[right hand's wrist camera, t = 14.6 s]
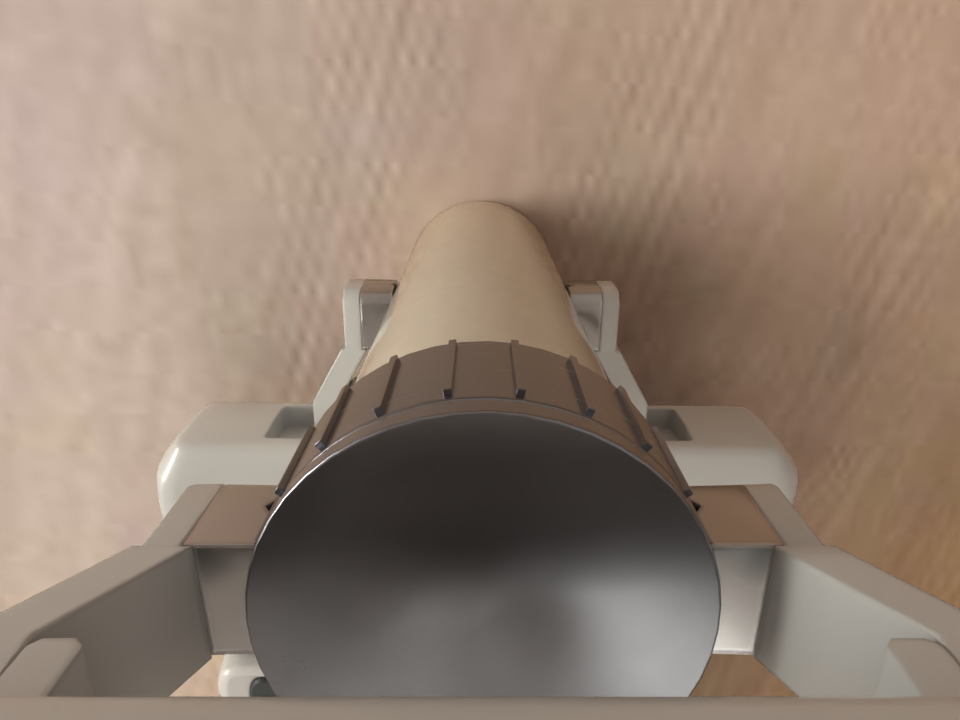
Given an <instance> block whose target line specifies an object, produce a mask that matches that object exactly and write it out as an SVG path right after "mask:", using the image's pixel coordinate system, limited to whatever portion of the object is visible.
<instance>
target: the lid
mask: <svg viewBox="0 0 960 720" xmlns="http://www.w3.org/2000/svg"><path fill="white" fill-rule="evenodd" d="M274 494H276V495H277V497H276V499H275V501H274V503H273V505H272V507H271V509H270V511H269V513H268V515H267V517H266V519H265V521H264V523H263V525H262V527H261V528H260V530H259V532H258V534H257V536H256V538H255V540H254V544H255V548H254V551H253V554H252V558H251V561H250V564H249V568H248V574H247V582H246V590H245V605H246V622H247V626H248V631H249V636H250V641H251V645H252V648H253V651H254V653H255V656H256V659H257V661H258V664H259V667H260V669H261V671H262V673H263V674H264V676H265V678H266V680H267V682H268V683H269V685H270V687H271V689H272V690H273V692H274V693H275V694H276V696H277V697H689V696H690V695H691V693H692V692H693V690H694V689H695V687H696V685H697V684H698V682H699V681H700V679H701V678H702V676H703V673H704V671H705V669H706V667H707V665H708V662H709V660H710V658H711V656H712V653H713V649H714V646H715V642H716V638H717V635H718V631H719V623H720V614H721V605H722V603H721V584H720V576H719V571H718V567H717V562H716V558H715V554H714V551H713V549H712V546H711V544H713V542H712V540H711V538H710V536H709V534H708V532H707V531H706V529H705V527H704V525H703V523H702V521H701V519H700V517H699V515H698V513H697V511H696V510H695V508H694V506H693V504H692V502H691V500H690V498H689V497H690V496H692V495H693V492H692V490H691V488H690V486H689V485H688V483H687V481H686V479H685V477H684V475H683V473H682V472H681V470H680V468H679V466H678V464H677V462H676V460H675V459H674V457H673V455H672V453H671V451H670V449H669V447H668V446H667V444H666V442H665V440H664V438H663V436H662V434H661V433H660V431H659V429H658V427H657V426H655V427H653V428H651V427H650V425H649V424H648V422H647V420H646V419H645V418H644V416H643V415H642V414H641V413H640V412H639V410H638V409H637V408H636V407H635V405H634V404H633V403H632V402H631V400H630V398H629V396H628V394H627V392H626V390H625V389H624V388H623V387H622V386H621V385H620V386H619V387H618V388H616V387H615V386H614V385H613V384H611V383H610V382H608V381H607V380H605V379H604V378H603V377H601V376H600V375H598V374H597V373H595V372H594V371H592V370H591V369H589V368H587V367H585V366H583V365H581V364H579V363H578V360H577V358H576V357H574V356H572V355H570V356H569V358H566V357H564V356H561V355H558V354H555V353H552V352H549V351H547V350H544V349H540V348H535V347H530V346H526V345H521V344H519V341H518V340H512V339H511V342H510V343H506V342H494V341H475V342H458V343H457V340H456V339H454V340H449V343H448V344H446V345H439V346H434V347H430V348H427V349H423V350H420V351H417V352H413V353H410V354H407V355H405V356H402V357H400V358H399V357H398V356H397V355H394V356H392V357H390V360H389V363H386V364H384V365H382V366H381V367H379V368H377V369H376V370H374V371H372V372H371V373H369V374H367V375H366V376H364V377H363V378H361V379H360V380H359V381H357V382H356V383H355V384H354V385H352V386H351V387H349V386H348V385H347V384H346V385H345V386H344V387H342V388H341V391H340V393H339V395H338V397H337V399H336V401H335V402H334V403H333V404H332V405H331V406H330V407H329V408H328V410H327V411H326V412H325V413H324V415H323V416H322V417H321V419H320V420H319V422H318V423H317V425H316V426H315V427H313V426H312V425H309V427H308V428H307V430H306V432H305V434H304V436H303V438H302V440H301V442H300V443H299V445H298V447H297V449H296V451H295V453H294V455H293V457H292V459H291V461H290V463H289V464H288V466H287V468H286V470H285V472H284V474H283V476H282V478H281V480H280V482H279V484H278V485H277V487H276V489H275V491H274Z"/></svg>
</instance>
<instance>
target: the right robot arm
mask: <svg viewBox="0 0 960 720" xmlns="http://www.w3.org/2000/svg"><path fill="white" fill-rule="evenodd" d="M276 487H277V485H237V484H227V485H225V484H195V485H191V486H188V487H187V488H186V490H185V491H184V492H183V493H182V495H181V496H180V497H179V499H178V500H177V501H176V503H175V504H174V505H173V507H172V508H171V509H170V511H169V512H168V513H167V514H166V516H165V517H164V518H163V520H162V521H161V522H160V524H159V525H158V526H157V528H156V529H155V530H154V532H153V533H152V534H151V535H150V537H149V538H148V539H147V541H146V542H145V543H144V545H143V546H131V547H129V548H127V549H125V550H123V551H121V552H119V553H117V554H115V555H113V556H111V557H109V558H108V559H106V560H104V561H102V562H100V563H98V564H96V565H94V566H92V567H90V568H88V569H86V570H84V571H82V572H80V573H78V574H76V575H74V576H72V577H70V578H68V579H66V580H64V581H62V582H60V583H58V584H56V585H54V586H52V587H50V588H48V589H46V590H44V591H42V592H40V593H38V594H36V595H35V596H33V597H31V598H29V599H27V600H25V601H23V602H21V603H19V604H17V605H15V606H13V607H11V608H9V609H7V610H5V611H3V612H1V613H0V720H960V609H959V608H957V607H955V606H953V605H951V604H949V603H947V602H945V601H943V600H941V599H939V598H937V597H935V596H933V595H931V594H929V593H927V592H925V591H923V590H921V589H919V588H917V587H915V586H913V585H911V584H909V583H907V582H905V581H903V580H901V579H899V578H897V577H895V576H893V575H891V574H889V573H887V572H885V571H883V570H881V569H879V568H877V567H875V566H873V565H871V564H870V563H868V562H866V561H864V560H862V559H860V558H858V557H856V556H854V555H852V554H850V553H848V552H846V551H844V550H842V549H840V548H838V547H836V546H824V545H823V544H822V542H821V541H820V540H819V538H818V537H817V536H816V535H815V533H814V532H813V531H812V530H811V528H810V527H809V526H808V524H807V523H806V522H805V521H804V519H803V518H802V517H801V515H800V514H799V513H798V512H797V510H796V509H795V508H794V506H793V505H792V504H791V503H790V501H789V500H788V499H787V498H786V496H785V495H784V494H783V492H782V491H781V490H780V489H779V487H778V486H776V485H773V484H748V485H712V486H690V488H691V490H692V492H693V495H692V496H690V497H689V498H690V500H691V502H692V504H693V506H694V508H695V510H696V511H697V513H698V515H699V517H700V519H701V521H702V523H703V525H704V527H705V529H706V531H707V532H708V534H709V536H710V538H711V540H712V542H713V544H711V546H712V549H713V551H714V554H715V558H716V562H717V567H718V571H719V576H720V584H721V603H722V605H721V614H720V623H719V631H718V635H717V638H716V642H715V646H714V649H713V653H712V654H742V655H755V657H754V658H756V659H757V660H758V661H759V662H760V663H761V664H762V665H763V666H765V667H766V668H767V669H768V670H769V671H770V672H771V673H773V674H774V675H775V676H776V677H777V678H778V679H779V680H780V681H782V682H783V683H784V684H785V685H786V686H787V687H788V688H789V689H791V690H792V691H793V692H794V693H795V694H796V695H797V696H799V697H169V696H170V695H171V694H172V693H173V692H174V691H175V690H176V689H178V688H179V687H180V686H181V685H182V684H183V683H184V682H185V681H187V680H188V679H189V678H190V677H191V676H192V675H193V674H194V673H196V672H197V671H198V670H199V669H200V668H201V667H202V666H203V665H205V664H206V663H207V662H208V661H209V660H210V659H211V658H212V656H211V655H224V654H255V653H254V651H253V648H252V645H251V641H250V636H249V631H248V626H247V622H246V605H245V590H246V582H247V574H248V568H249V564H250V561H251V558H252V554H253V551H254V548H255V544H254V540H255V538H256V536H257V534H258V532H259V530H260V528H261V527H262V525H263V523H264V521H265V519H266V517H267V515H268V513H269V511H270V509H271V507H272V505H273V503H274V501H275V499H276V497H277V495H276V494H274V491H275V489H276Z"/></svg>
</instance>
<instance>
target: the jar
mask: <svg viewBox="0 0 960 720" xmlns="http://www.w3.org/2000/svg"><path fill="white" fill-rule="evenodd" d="M454 339H456V340H457V343H458V342H475V341H494V342H506V343H510V342H511V339H512V340H518V341H519V344H521V345H526V346H530V347H535V348H540V349H544V350H547V351H549V352H552V353H555V354H558V355H561V356H564V357H566V358H569V356H570V355H572V356H574V357H576V358H577V360H578V363H579V364H581V365H583V366H585V367H587V368H589V369H591V370H592V371H594V372H595V373H597V374H598V375H600V376H601V377H603V378H604V379H605V380H607V378H606V376H605V374H604V371H603V369H602V367H601V365H600V363H599V360H598V358H597V356H596V354H595V351H594V349H593V347H592V345H591V343H590V340H589V338H588V336H587V334H586V332H585V329H584V327H583V325H582V323H581V321H580V318H579V316H578V314H577V312H576V310H575V307H574V305H573V303H572V301H571V298H570V296H569V294H568V292H567V290H566V287H565V285H564V283H563V281H562V279H561V276H560V274H559V272H558V270H557V268H556V265H555V263H554V261H553V259H552V257H551V254H550V252H549V250H548V248H547V245H546V243H545V241H544V239H543V237H542V236H541V234H540V232H539V231H538V230H537V228H536V227H535V226H534V224H533V223H532V222H530V221H529V220H528V219H527V218H526V217H525V216H523V215H522V214H521V213H519V212H518V211H516V210H514V209H512V208H510V207H508V206H505V205H502V204H498V203H494V202H486V201H475V202H468V203H463V204H460V205H457V206H454V207H452V208H450V209H448V210H446V211H444V212H443V213H441V214H439V215H438V216H437V217H436V218H434V219H433V220H432V221H431V222H430V223H429V224H428V225H427V227H426V228H425V229H424V230H423V232H422V233H421V235H420V237H419V239H418V241H417V243H416V245H415V247H414V249H413V252H412V254H411V256H410V258H409V261H408V263H407V265H406V268H405V270H404V272H403V274H402V277H401V279H400V281H399V284H398V286H397V288H396V290H395V293H394V295H393V297H392V300H391V302H390V304H389V307H388V309H387V311H386V313H385V316H384V318H383V320H382V323H381V325H380V327H379V329H378V332H377V334H376V336H375V339H374V341H373V343H372V345H371V348H370V350H369V352H368V355H367V357H366V359H365V361H364V364H363V366H362V368H361V371H360V373H359V375H358V377H357V380H356V382H357V381H359V380H360V379H361V378H363V377H364V376H366V375H367V374H369V373H371V372H372V371H374V370H376V369H377V368H379V367H381V366H382V365H384V364H386V363H389V360H390V357H392V356H394V355H397V356H398V357H399V358H400V357H402V356H405V355H407V354H410V353H413V352H417V351H420V350H423V349H427V348H430V347H434V346H439V345H446V344H448V343H449V340H454ZM607 381H608V380H607ZM356 382H355V383H356Z"/></svg>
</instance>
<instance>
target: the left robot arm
mask: <svg viewBox="0 0 960 720" xmlns="http://www.w3.org/2000/svg"><path fill="white" fill-rule="evenodd" d="M564 285H565V287H566V290H567V292H568V294H569V296H570V298H571V301H572V303H573V305H574V307H575V310H576V312H577V314H578V316H579V318H580V321H581V323H582V325H583V327H584V329H585V332H586V334H587V336H588V338H589V340H590V343H591V345H592V347H593V349H594V351H595V354H596V356H597V358H598V360H599V361H600V363H601V365H602V367H603V369H604V371H605V373H606V374H607V376H608V378H609V380H610V383H611V384H613V385H614V386H615V387H616V388H618V387H619V386H620V385H621V386H622V387H623V388H624V389H625V390H626V392H627V394H628V396H629V398H630V400H631V402H632V403H633V404H634V405H635V407H636V408H637V409H638V410H639V412H640V413H641V414H642V415H643V416H644V418H645V419H646V420H647V422H648V424H649V425H650V427H651V428H653V427H655V426H657V427H658V429H659V431H660V433H661V434H662V436H663V438H664V440H665V442H666V444H667V446H668V447H669V449H670V451H671V453H672V455H673V457H674V459H675V460H676V462H677V464H678V466H679V468H680V470H681V472H682V473H683V475H684V477H685V479H686V481H687V483H688V485H689V486H712V485H748V484H773V485H776V486H778V487H779V489H780V490H781V491H782V492H783V494H784V495H785V496H786V498H787V499H788V500H789V501H790V503H791V504H792V505H793V503H794V500H795V496H796V491H797V486H798V471H797V468H796V465H795V463H794V460H793V459H792V457H791V456H790V454H789V452H788V451H787V449H786V448H785V447H784V445H783V444H782V443H781V441H780V440H779V439H778V437H777V436H776V435H775V434H774V433H773V432H772V431H771V430H770V428H769V427H768V426H767V425H766V424H765V423H763V422H762V421H761V420H760V419H759V418H758V417H757V416H756V415H755V414H754V413H753V412H752V411H751V410H749V409H747V408H745V407H740V406H672V405H648V404H647V402H646V400H645V398H644V396H643V394H642V392H641V391H640V389H639V387H638V385H637V383H636V381H635V379H634V377H633V375H632V373H631V371H630V369H629V367H628V365H627V363H626V362H625V360H624V358H623V356H622V354H621V352H620V350H619V348H618V346H617V345H616V344H617V332H618V320H619V308H620V300H619V292H618V289H617V287H616V286H615V285H614V283H613V282H612V281H565V283H564ZM397 286H398V281H397V280H372V279H350V280H349V282H348V283H347V285H346V286H345V288H344V293H343V319H344V334H345V344H344V345H343V347H342V349H341V351H340V353H339V355H338V356H337V358H336V360H335V362H334V364H333V366H332V367H331V369H330V371H329V373H328V375H327V377H326V379H325V380H324V382H323V384H322V386H321V388H320V390H319V392H318V393H317V395H316V397H315V399H314V401H313V403H238V402H219V403H213V404H210V405H208V406H207V407H205V408H204V409H203V410H202V411H201V412H200V413H199V414H198V415H197V416H196V417H195V418H194V419H193V420H192V421H191V422H190V423H189V424H188V425H187V426H186V427H185V428H184V429H183V430H182V431H181V432H180V433H179V434H178V436H177V437H176V438H175V439H174V441H173V442H172V443H171V445H170V446H169V448H168V449H167V451H166V452H165V454H164V455H163V457H162V459H161V461H160V464H159V467H158V471H157V490H158V497H159V502H160V507H161V512H162V517H163V518H164V517H165V516H166V514H167V513H168V512H169V511H170V509H171V508H172V507H173V505H174V504H175V503H176V501H177V500H178V499H179V497H180V496H181V495H182V493H183V492H184V491H185V490H186V488H187V487H188V486H191V485H195V484H225V485H227V484H237V485H278V484H279V482H280V480H281V478H282V476H283V474H284V472H285V470H286V468H287V466H288V464H289V463H290V461H291V459H292V457H293V455H294V453H295V451H296V449H297V447H298V445H299V443H300V442H301V440H302V438H303V436H304V434H305V432H306V430H307V428H308V427H309V425H312V426H313V427H315V426H316V425H317V423H318V422H319V420H320V419H321V417H322V416H323V415H324V413H325V412H326V411H327V410H328V408H329V407H330V406H331V405H332V404H333V403H334V402H335V401H336V399H337V397H338V395H339V393H340V391H341V388H342V387H344V386H345V385H346V384H347V385H348V386H349V387H351V386H352V385H354V384H355V382H356V380H357V377H354V378H353V379H352V380H351V378H352V376H353V374H354V373H355V371H356V369H357V367H358V365H359V363H360V362H361V360H362V358H363V356H364V354H365V353H366V351H367V349H370V348H371V345H372V343H373V341H374V339H375V336H376V334H377V332H378V329H379V327H380V325H381V323H382V320H383V318H384V316H385V313H386V311H387V309H388V307H389V304H390V302H391V300H392V297H393V295H394V293H395V290H396V288H397ZM608 382H609V381H608ZM218 688H219V695H220V697H277V696H276V694H275V693H274V692H273V690H272V689H271V687H270V685H269V683H268V682H267V680H266V678H265V676H264V674H263V673H262V671H261V669H260V667H259V664H258V661H257V659H256V656H255V654H225V656H224V660H223V663H222V666H221V670H220V674H219V678H218Z"/></svg>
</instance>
